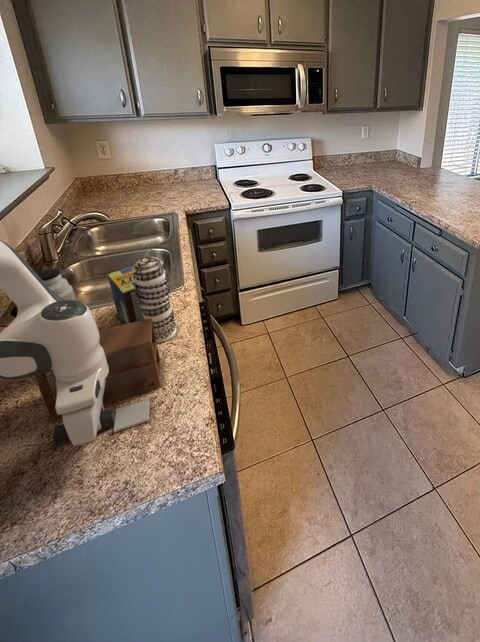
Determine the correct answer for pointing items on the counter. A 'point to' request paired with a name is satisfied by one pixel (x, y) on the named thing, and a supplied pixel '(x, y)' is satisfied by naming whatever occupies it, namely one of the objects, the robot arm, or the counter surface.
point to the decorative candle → (155, 296)
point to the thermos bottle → (57, 283)
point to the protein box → (125, 295)
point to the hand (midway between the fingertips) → (98, 421)
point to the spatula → (112, 420)
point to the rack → (119, 364)
